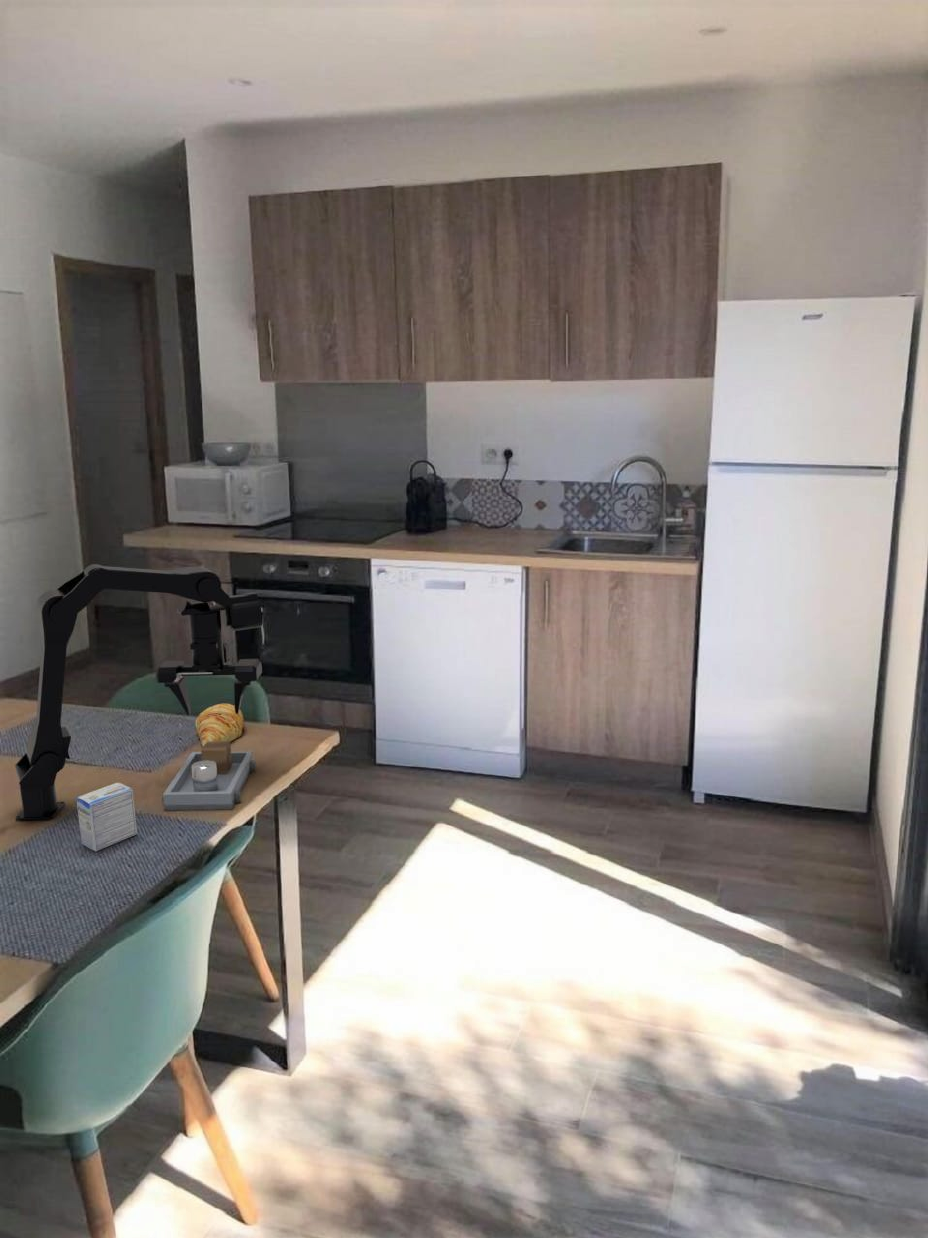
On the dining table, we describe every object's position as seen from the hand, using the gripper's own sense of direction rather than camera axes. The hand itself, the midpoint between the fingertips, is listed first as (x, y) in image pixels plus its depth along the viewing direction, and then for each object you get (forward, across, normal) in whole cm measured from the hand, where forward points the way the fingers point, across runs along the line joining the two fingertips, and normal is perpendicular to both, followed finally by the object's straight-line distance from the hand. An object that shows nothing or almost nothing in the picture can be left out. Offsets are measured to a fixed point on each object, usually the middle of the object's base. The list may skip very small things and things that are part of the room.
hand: (213, 713), depth 189 cm
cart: (+12, 0, +6) cm, 14 cm away
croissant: (+13, +5, -22) cm, 26 cm away
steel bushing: (+12, 0, +9) cm, 15 cm away
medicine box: (+13, +12, +26) cm, 32 cm away
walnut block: (+12, 0, 0) cm, 12 cm away
